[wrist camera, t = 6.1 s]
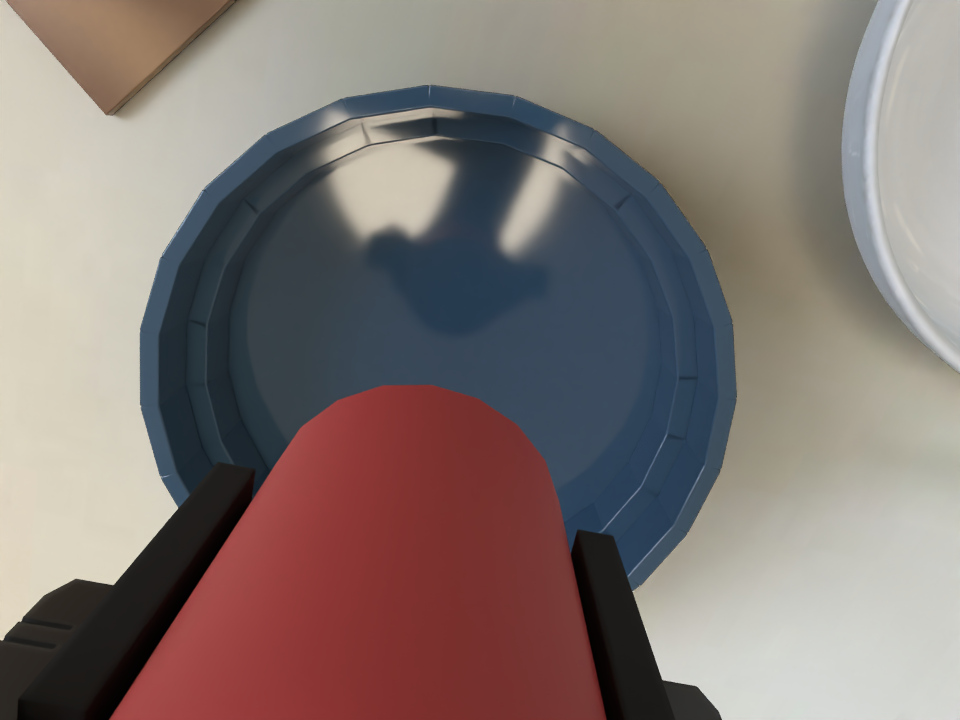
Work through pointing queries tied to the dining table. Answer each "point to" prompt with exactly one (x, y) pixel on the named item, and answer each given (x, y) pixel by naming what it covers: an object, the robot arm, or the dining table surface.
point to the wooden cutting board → (116, 39)
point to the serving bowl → (909, 165)
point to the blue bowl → (449, 303)
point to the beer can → (386, 581)
